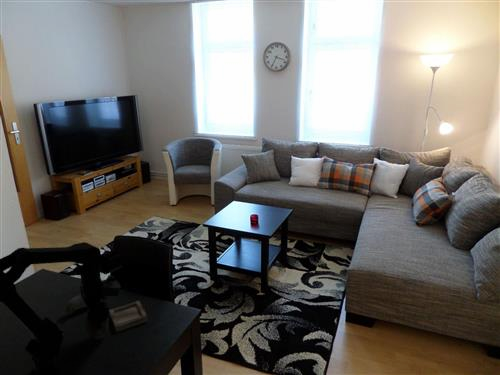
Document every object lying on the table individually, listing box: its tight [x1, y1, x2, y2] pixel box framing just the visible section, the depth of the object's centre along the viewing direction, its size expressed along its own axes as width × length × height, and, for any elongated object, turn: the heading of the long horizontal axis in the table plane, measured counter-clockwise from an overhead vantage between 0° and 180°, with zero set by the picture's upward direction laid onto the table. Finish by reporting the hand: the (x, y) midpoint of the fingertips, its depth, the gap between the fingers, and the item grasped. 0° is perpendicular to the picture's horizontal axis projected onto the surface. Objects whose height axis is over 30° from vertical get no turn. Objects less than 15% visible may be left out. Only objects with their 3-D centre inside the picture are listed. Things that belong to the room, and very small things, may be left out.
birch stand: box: [109, 300, 149, 333], centre depth 125 cm, size 11×11×2 cm
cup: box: [83, 314, 110, 341], centre depth 115 cm, size 8×7×8 cm
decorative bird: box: [65, 279, 109, 317], centre depth 131 cm, size 5×16×8 cm, turn 146°
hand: (96, 320), depth 114 cm, fingers open, 9 cm apart
